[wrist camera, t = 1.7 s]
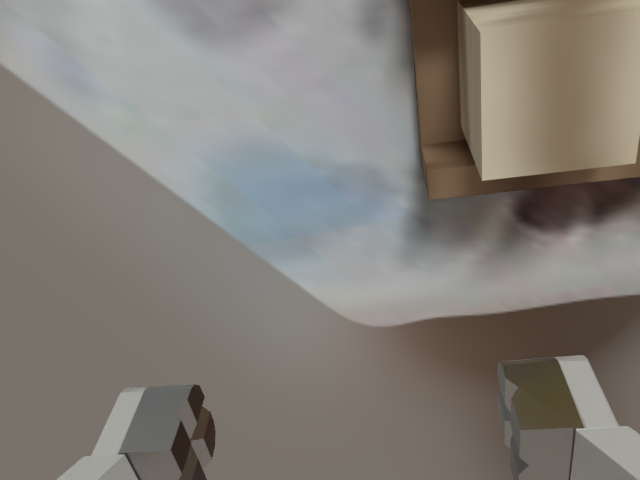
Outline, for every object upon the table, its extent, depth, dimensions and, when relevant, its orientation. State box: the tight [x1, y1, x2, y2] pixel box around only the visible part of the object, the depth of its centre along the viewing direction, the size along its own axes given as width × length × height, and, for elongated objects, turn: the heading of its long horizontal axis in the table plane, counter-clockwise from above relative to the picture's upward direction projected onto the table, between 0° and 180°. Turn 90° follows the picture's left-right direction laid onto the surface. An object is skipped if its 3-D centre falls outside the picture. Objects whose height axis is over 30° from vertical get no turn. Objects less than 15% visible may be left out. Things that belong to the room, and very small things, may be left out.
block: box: [457, 0, 640, 181], centre depth 24 cm, size 6×6×6 cm
